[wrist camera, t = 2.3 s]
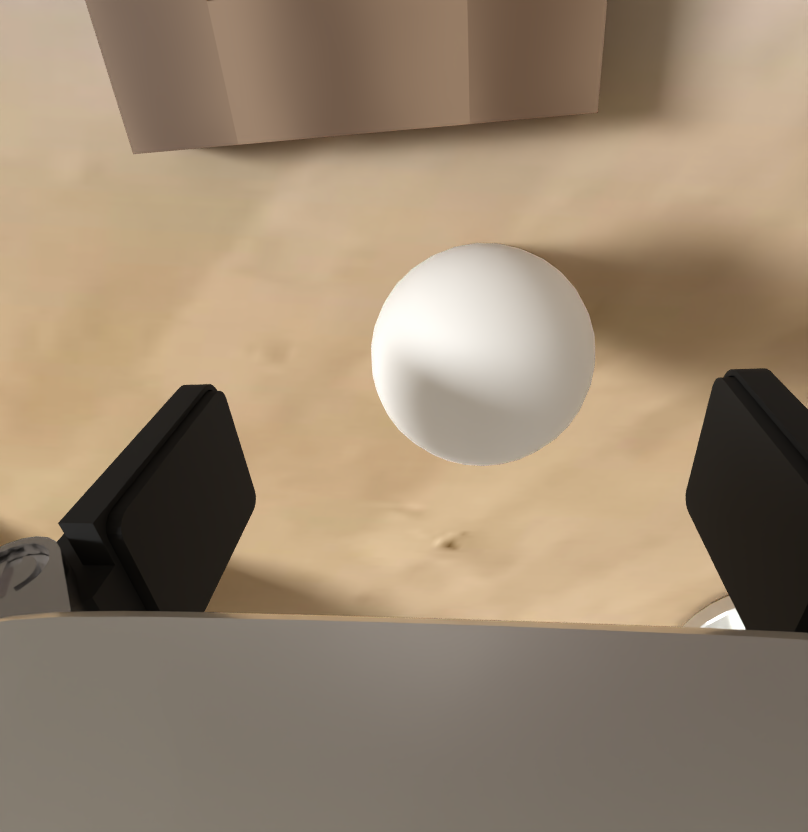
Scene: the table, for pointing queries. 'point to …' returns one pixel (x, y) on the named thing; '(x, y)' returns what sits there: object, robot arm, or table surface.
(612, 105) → the table surface
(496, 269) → the lightbulb
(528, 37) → the socket block
